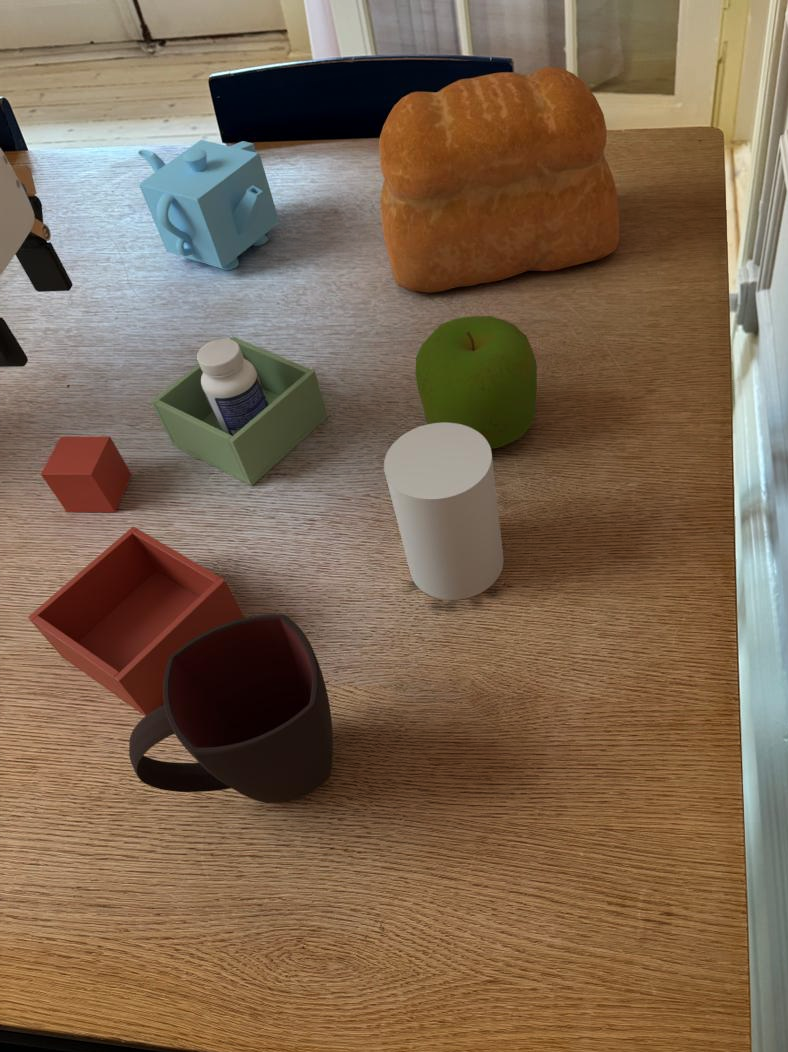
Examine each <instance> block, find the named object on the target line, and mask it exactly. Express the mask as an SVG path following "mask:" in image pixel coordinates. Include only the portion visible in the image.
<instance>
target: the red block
mask: <svg viewBox="0 0 788 1052" xmlns="http://www.w3.org/2000/svg"><path fill="white" fill-rule="evenodd" d="M40 476H41V478H42V479H43V480H44V481H45V484H47V486H48V488H49V489H50V490H51V492H52V493H53V494H54V496H55V497H56V499H57V500H58V502H59V504H60V505H61V506H62V507H63V509H64V510H65V512H67V513H116V512H117V509H118V507H119V505H120V503H121V501H122V498H123V496H124V494H125V492H126V489H127V488H128V485H129V483H130V480H131V478H132V476H133V474H132V472H131V471H130V469H129V467H128V466H127V464H126V462H125V460H124V458H123V456H122V454H121V453H120V451H119V449H118V448H117V446H116V444H115V442H114V440H113V439H112V437H111V436H110V435H109V436H103V435H102V436H101V435H100V436H98V435H97V436H96V435H95V436H91V435H90V436H89V435H87V436H85V435H84V436H79V435H78V436H60V437H59V438H58V440H57V443H56V444H55V446H54V448H53V450H52V451H51V453H50V456H49V457H48V459H47V461H46V463H45V465H44V467H43V469H42V471H41V473H40Z"/></svg>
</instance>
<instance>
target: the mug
mask: <svg viewBox="0 0 788 1052" xmlns="http://www.w3.org/2000/svg"><path fill="white" fill-rule="evenodd" d="M328 694H329V693H328V690H327V686H326V682H325V678H324V674H323V672H322V669H321V666H320V663H319V661H318V658H317V655H316V653H315V651H314V648H313V646H312V644H311V642H310V640H309V639H308V637H307V636H306V634H305V633H304V631H302V629H301V628H300V627H299V625H297V624H296V623H295V622H294V621H293V620H292V619H291V618H290V617H289V616H287V615H286V614H283V613H269V614H268V613H267V614H257V615H252V616H247V617H245V618H242V619H239V620H235V621H232V622H229V623H226V624H223V625H221V626H218V627H216V628H213V629H211V630H209V631H207V632H205V633H203V634H201V635H200V636H198V637H196V638H194V639H193V640H191V641H190V642H188V643H187V644H185V645H184V646H182V647H181V648H180V649H178V650H177V651H176V652H175V653H173V654H172V655H171V656H170V657H169V660H168V663H167V667H166V671H165V676H164V684H163V698H164V704H163V705H162V706H161V707H159V708H157V709H155V710H154V711H152V712H151V713H149V714H148V715H147V716H144V717H143V718H142V719H141V720H140V721H138V723H137V724H136V725H135V727H134V728H133V729H132V731H131V734H130V737H129V740H128V741H129V742H128V743H129V744H128V746H129V747H128V756H129V757H128V758H129V760H130V763H131V766H132V769H133V771H134V773H135V775H136V776H137V778H138V780H140V781H141V782H142V783H144V784H146V785H147V786H150V787H152V788H154V789H158V790H162V791H167V792H176V793H204V792H216V791H224V790H229V789H232V790H233V791H235V792H237V793H239V794H241V795H242V796H243V797H246V798H249V799H251V800H253V801H256V802H260V803H264V804H281V803H287V802H291V801H295V800H298V799H300V798H303V797H305V796H307V795H309V794H312V792H314V791H316V790H318V789H319V788H320V787H321V786H322V785H324V784H325V783H326V782H327V781H328V780H329V779H330V777H331V773H332V768H333V762H334V761H333V760H334V732H333V722H332V721H333V720H332V713H331V706H330V705H331V704H330V700H329V695H328ZM173 735H174V736H175V737H176V738H177V739H178V741H179V742H180V744H181V745H182V746H183V747H184V748H185V750H186V751H187V752H188V753H189V754H190V755H191V756H192V757H193V758H194V759H195V760H196V761H197V762H171V761H164V760H158V759H153V758H151V757H149V756H146V755H145V754H146V753H147V752H148V751H149V750H151V749H152V748H153V747H154V746H156V745H158V743H160V742H162V741H163V740H165V739H167V738H169V737H171V736H173Z"/></svg>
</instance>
